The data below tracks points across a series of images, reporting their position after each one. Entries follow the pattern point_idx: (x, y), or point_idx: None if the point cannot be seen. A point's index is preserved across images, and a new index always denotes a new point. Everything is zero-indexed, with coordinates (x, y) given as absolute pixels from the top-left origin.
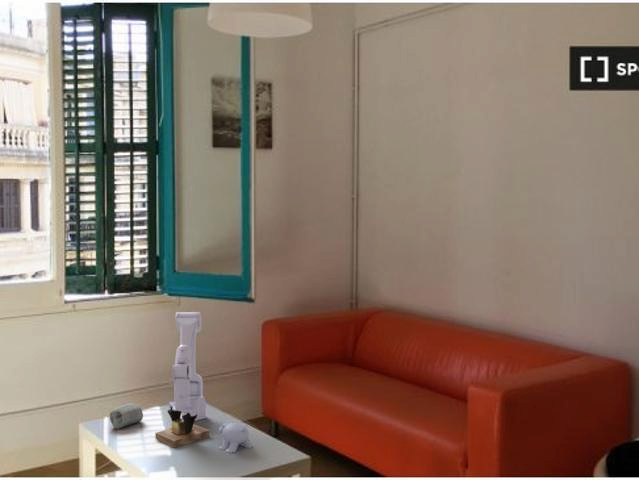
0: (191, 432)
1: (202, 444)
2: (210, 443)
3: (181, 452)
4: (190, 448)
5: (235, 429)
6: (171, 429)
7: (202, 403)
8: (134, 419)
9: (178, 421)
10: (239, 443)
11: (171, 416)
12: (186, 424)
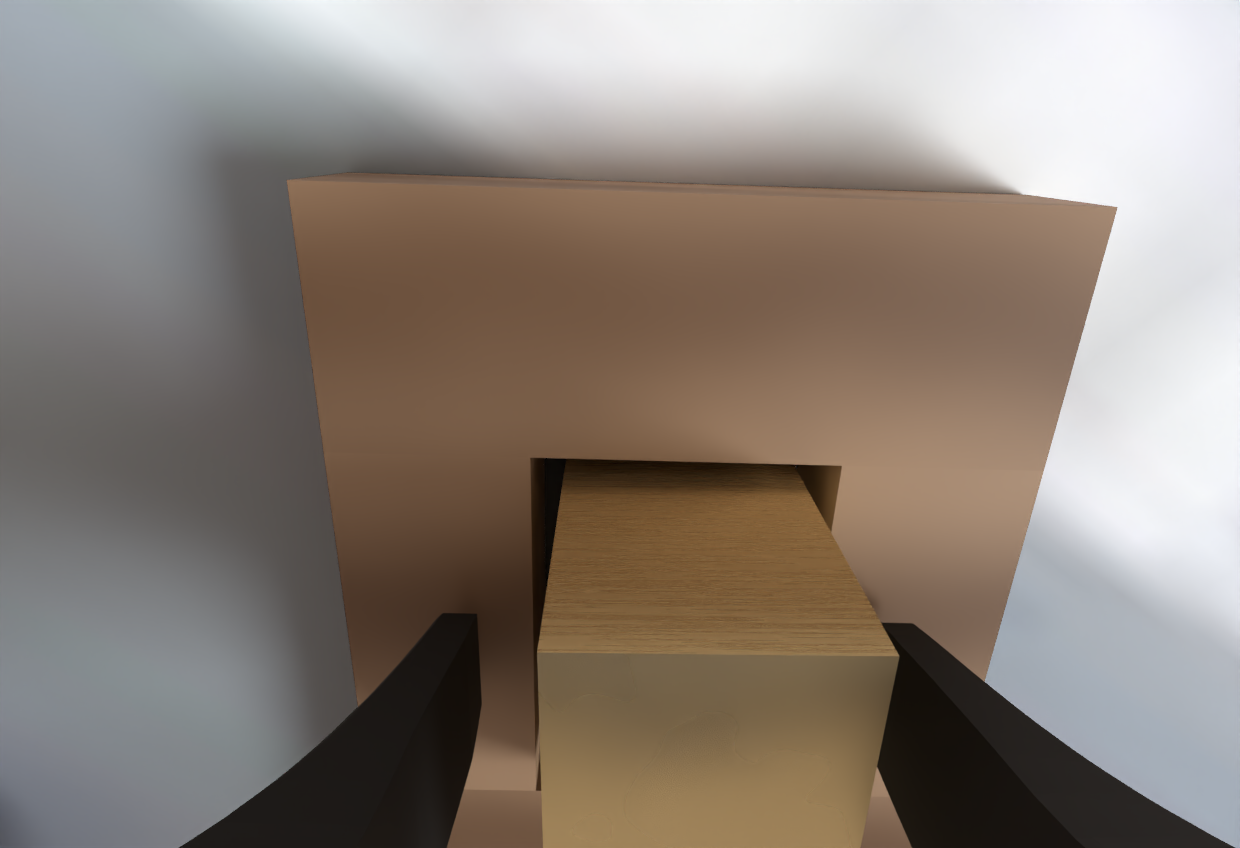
0: (502, 713)
1: (187, 602)
2: (154, 696)
3: (16, 109)
4: (127, 367)
5: None
6: (945, 575)
7: None
8: None
9: (691, 756)
10: None
11: (1110, 828)
12: (302, 761)
